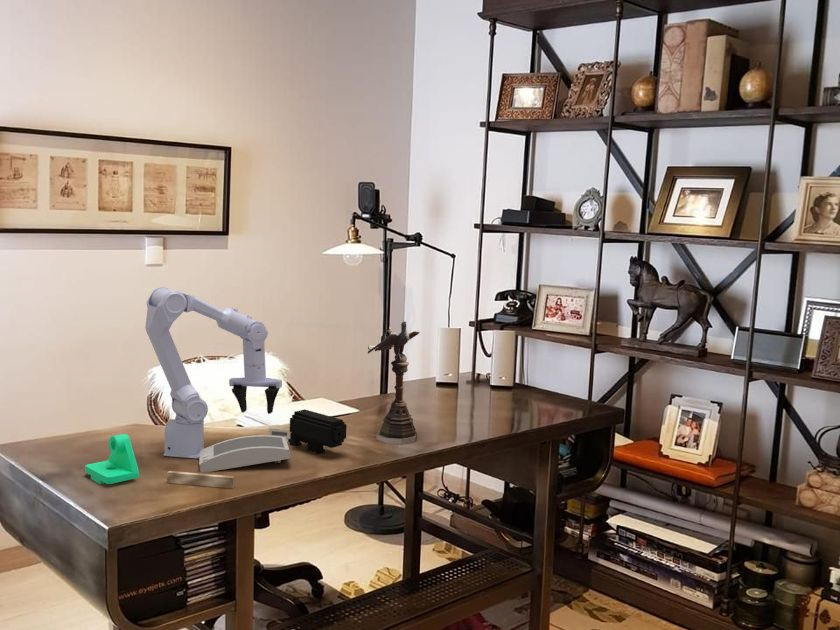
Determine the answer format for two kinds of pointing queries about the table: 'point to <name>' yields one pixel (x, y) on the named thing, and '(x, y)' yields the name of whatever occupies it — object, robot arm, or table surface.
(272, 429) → the label tag
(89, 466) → the camera mount
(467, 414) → the table surface
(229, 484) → the rail
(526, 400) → the table surface
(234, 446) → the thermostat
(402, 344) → the bird statue
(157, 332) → the robot arm
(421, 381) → the table surface
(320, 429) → the security camera
